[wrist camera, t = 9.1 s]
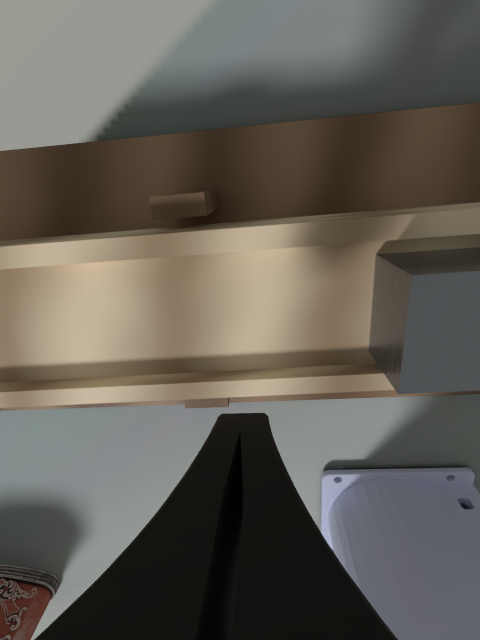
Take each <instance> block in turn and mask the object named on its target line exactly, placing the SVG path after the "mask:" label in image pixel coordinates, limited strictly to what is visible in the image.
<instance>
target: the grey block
mask: <svg viewBox="0 0 480 640" xmlns="http://www.w3.org/2000/svg"><path fill="white" fill-rule="evenodd" d="M369 353H370V354H371V356H372V357H373V359H374V360H375V362H376V363H377V364H378V366H379V367H380V369H381V370H382V372H383V373H384V375H385V376H386V378H387V379H388V380H389V382H390V383H391V385H392V386H393V388H394V389H395V391H396V392H397V394H414V393H437V392H459V391H480V247H473V248H459V249H445V250H431V251H417V252H403V253H389V254H376V258H375V272H374V285H373V298H372V312H371V325H370V339H369Z"/></svg>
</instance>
